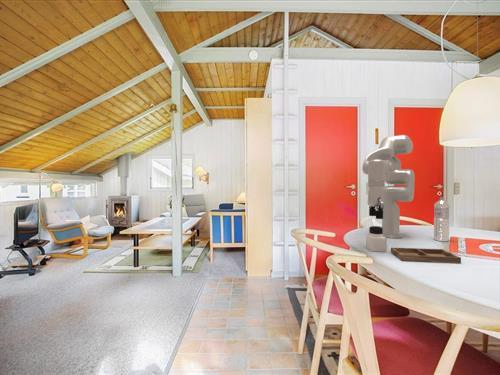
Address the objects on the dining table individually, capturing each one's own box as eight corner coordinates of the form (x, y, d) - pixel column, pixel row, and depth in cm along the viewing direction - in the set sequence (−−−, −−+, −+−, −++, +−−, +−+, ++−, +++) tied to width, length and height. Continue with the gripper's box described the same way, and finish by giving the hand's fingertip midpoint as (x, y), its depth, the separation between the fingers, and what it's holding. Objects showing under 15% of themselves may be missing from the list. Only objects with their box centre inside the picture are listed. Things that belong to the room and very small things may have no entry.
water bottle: (451, 242, 132) (452, 198, 131) (437, 241, 133) (438, 198, 132) (444, 239, 139) (445, 197, 138) (431, 238, 140) (431, 197, 139)
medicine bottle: (386, 251, 117) (386, 228, 116) (372, 251, 117) (372, 228, 117) (379, 247, 124) (379, 225, 124) (365, 247, 124) (365, 225, 124)
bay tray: (390, 252, 116) (390, 247, 116) (442, 254, 112) (443, 249, 112) (402, 261, 104) (402, 255, 104) (460, 263, 100) (461, 257, 100)
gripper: (363, 183, 128) (362, 214, 129) (374, 184, 111) (373, 219, 112) (377, 183, 127) (377, 215, 127) (391, 184, 110) (390, 220, 110)
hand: (375, 217), depth 120 cm, fingers open, 9 cm apart
